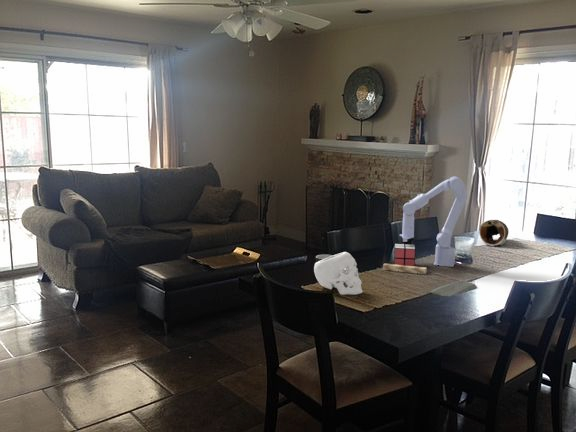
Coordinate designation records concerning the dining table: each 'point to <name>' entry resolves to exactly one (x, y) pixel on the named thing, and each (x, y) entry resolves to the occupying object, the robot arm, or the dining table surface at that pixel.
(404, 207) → the robot arm
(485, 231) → the clay pot
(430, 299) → the dining table surface
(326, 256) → the coffee mug
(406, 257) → the puzzle cube
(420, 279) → the dining table surface
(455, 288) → the stone slab
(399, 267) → the board
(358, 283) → the skull planter
